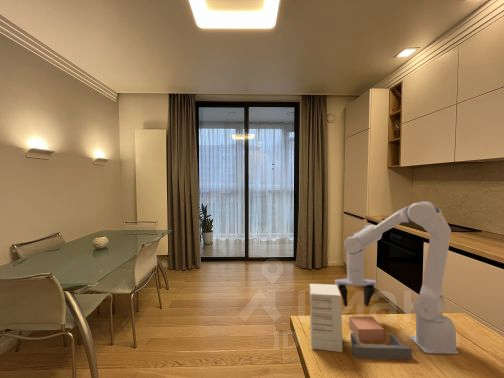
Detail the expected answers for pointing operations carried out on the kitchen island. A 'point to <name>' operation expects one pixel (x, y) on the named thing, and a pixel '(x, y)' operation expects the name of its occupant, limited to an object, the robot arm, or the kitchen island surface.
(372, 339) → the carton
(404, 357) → the grey tray
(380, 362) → the kitchen island surface
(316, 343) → the supplement box
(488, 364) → the kitchen island surface
